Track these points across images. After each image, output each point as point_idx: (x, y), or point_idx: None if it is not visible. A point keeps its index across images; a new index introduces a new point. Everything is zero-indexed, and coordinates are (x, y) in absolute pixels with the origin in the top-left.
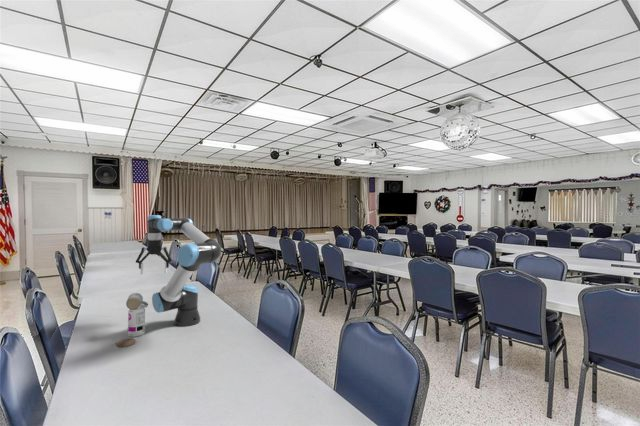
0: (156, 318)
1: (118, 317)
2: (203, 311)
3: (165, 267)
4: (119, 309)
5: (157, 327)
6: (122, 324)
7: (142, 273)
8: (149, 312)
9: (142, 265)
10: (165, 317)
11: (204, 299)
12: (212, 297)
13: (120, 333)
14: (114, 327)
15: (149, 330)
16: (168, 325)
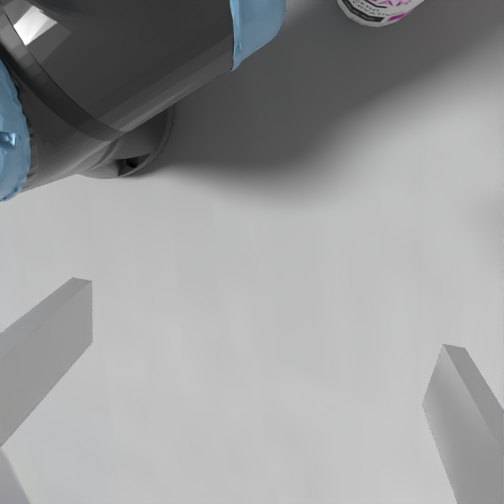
0: (275, 248)
1: (470, 350)
2: (40, 270)
3: (19, 330)
4: None
5: (263, 71)
6: (454, 215)
7: (434, 376)
8: (314, 369)
9: (495, 498)
10: (229, 246)
11: (59, 465)
12: (24, 480)
13: (470, 38)
14: (498, 176)
15: (306, 28)
16: (204, 85)
